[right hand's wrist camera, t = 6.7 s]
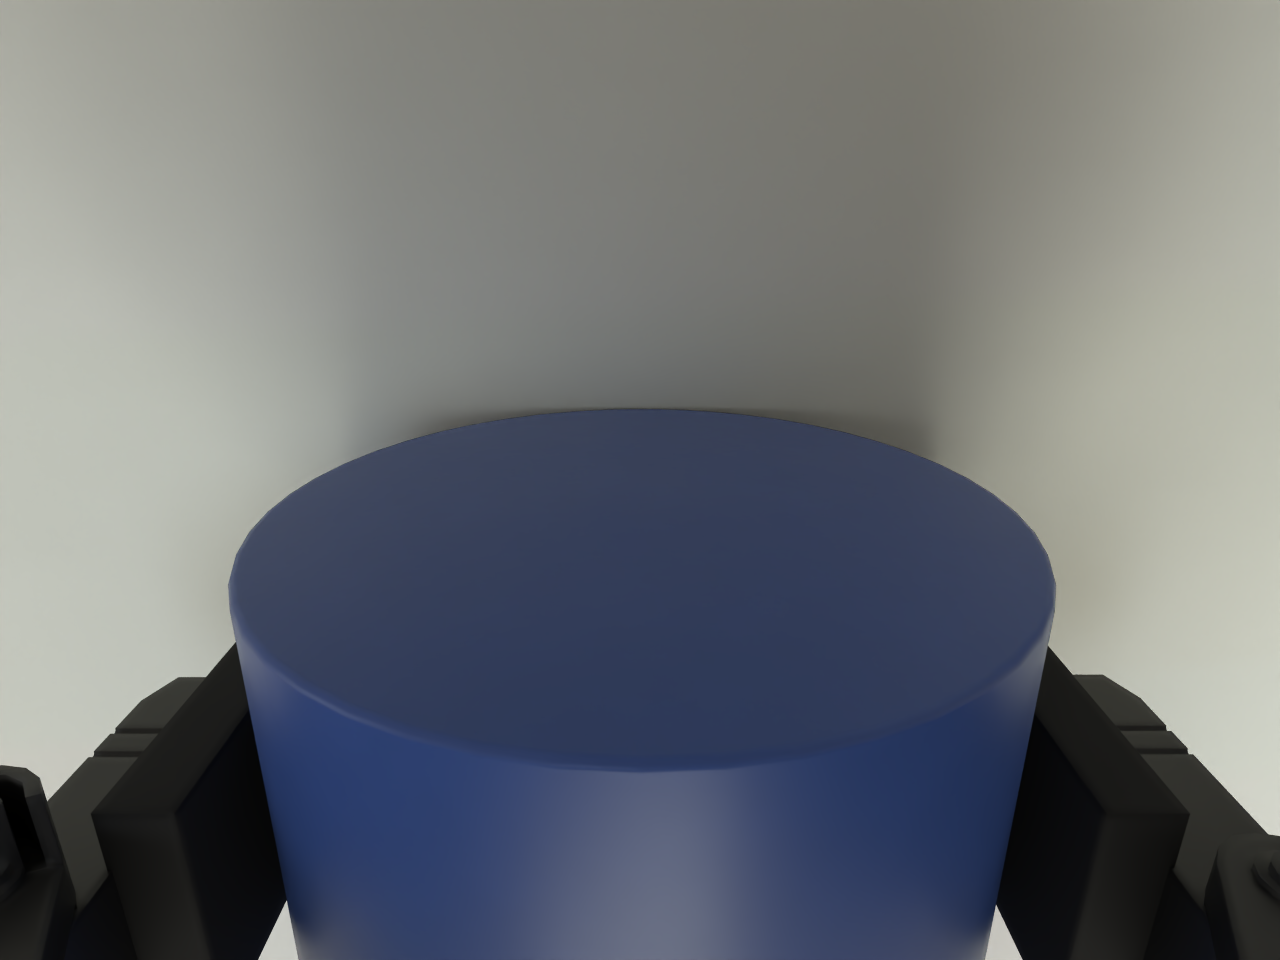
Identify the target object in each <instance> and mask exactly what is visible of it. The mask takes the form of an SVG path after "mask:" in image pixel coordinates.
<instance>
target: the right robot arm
mask: <svg viewBox="0 0 1280 960" xmlns="http://www.w3.org/2000/svg"><path fill="white" fill-rule="evenodd" d="M1187 750H1188V748H1187V747H1186V746H1185V745H1184V744H1183V743H1182V742H1181V741H1180V740H1179V739H1178V738H1177V737H1176V736H1175V735H1174V733H1173V732H1172V731H1167V730H1166V725H1165V724H1164V723H1163V722H1162V721H1161V720H1160V719H1159V718H1158V716H1157V715H1156V714H1155V713H1154V712H1153V711H1152V710H1151V709H1150V708H1149V707H1148V706H1147V705H1146V704H1145V703H1144V702H1143V700H1142V699H1141V698H1139V697H1138V696H1136V695H1134V694H1133V693H1131V692H1130V691H1128V690H1126V689H1125V688H1123V687H1122V686H1120V685H1118V684H1117V683H1115V682H1114V681H1112V680H1110V679H1109V678H1107V677H1106V676H1104V675H1072V674H1071V672H1070V671H1069V670H1068V669H1067V668H1066V666H1065V665H1064V664H1063V663H1062V662H1061V661H1060V659H1059V658H1058V657H1057V656H1056V655H1055V653H1054V652H1053V651H1052V650H1051V649H1050V648H1049V646H1048V647H1047V652H1046V657H1045V662H1044V667H1043V672H1042V677H1041V682H1040V687H1039V692H1038V697H1037V702H1036V707H1035V712H1034V717H1033V722H1032V727H1031V732H1030V737H1029V742H1028V747H1027V752H1026V757H1025V762H1024V767H1023V772H1022V777H1021V782H1020V787H1019V792H1018V797H1017V802H1016V807H1015V812H1014V817H1013V822H1012V827H1011V832H1010V837H1009V842H1008V847H1007V852H1006V857H1005V862H1004V867H1003V872H1002V877H1001V882H1000V887H999V892H998V897H997V901H996V905H997V907H998V909H999V911H1000V913H1001V916H1002V918H1003V920H1004V922H1005V924H1006V926H1007V928H1008V930H1009V932H1010V934H1011V936H1012V938H1013V940H1014V943H1015V945H1016V947H1017V949H1018V951H1019V953H1020V955H1021V957H1022V959H1023V960H1280V836H1275V835H1269V834H1267V833H1266V832H1265V830H1264V829H1263V828H1262V827H1261V826H1260V825H1259V824H1258V823H1257V822H1256V821H1255V820H1254V819H1253V818H1252V817H1251V816H1250V814H1249V813H1248V812H1247V811H1246V810H1245V809H1244V808H1243V807H1242V806H1241V805H1240V804H1239V803H1238V802H1237V801H1236V800H1235V798H1234V797H1233V796H1232V795H1231V794H1230V793H1229V792H1228V791H1227V790H1226V789H1225V788H1224V787H1223V786H1222V785H1221V784H1220V783H1219V781H1218V780H1217V779H1216V778H1215V777H1214V776H1213V775H1212V774H1211V773H1210V772H1209V771H1208V770H1207V769H1206V768H1205V767H1204V765H1203V764H1202V763H1201V762H1200V761H1199V760H1198V759H1197V758H1196V757H1195V756H1194V755H1193V754H1188V751H1187ZM286 900H287V898H286V893H285V888H284V883H283V878H282V872H281V867H280V862H279V857H278V852H277V847H276V842H275V837H274V832H273V827H272V822H271V817H270V812H269V807H268V801H267V796H266V791H265V786H264V781H263V776H262V771H261V766H260V761H259V756H258V751H257V746H256V741H255V735H254V730H253V725H252V720H251V715H250V710H249V705H248V700H247V695H246V690H245V685H244V680H243V675H242V670H241V664H240V659H239V654H238V649H237V644H236V643H235V644H234V645H233V646H232V647H231V648H230V650H229V651H228V652H227V653H226V654H225V656H224V657H223V658H222V659H221V660H220V661H219V663H218V664H217V665H216V666H215V667H214V669H213V670H212V671H211V672H210V673H209V674H208V676H207V677H178V678H177V679H175V680H174V681H172V682H170V683H169V684H167V685H166V686H164V687H162V688H161V689H159V690H158V691H156V692H154V693H153V694H151V695H150V696H148V697H146V698H145V699H143V700H142V701H141V702H140V703H139V704H138V705H137V706H136V707H135V708H134V709H133V710H132V711H131V712H130V713H129V714H128V715H127V717H126V718H125V719H124V720H123V721H122V722H121V723H120V724H119V725H118V726H117V727H116V731H115V734H110V735H109V736H108V737H107V738H106V739H105V740H104V741H103V742H102V743H101V744H100V746H99V747H98V748H97V749H96V750H95V751H94V756H93V757H88V758H87V759H86V761H85V762H84V763H83V764H82V765H81V766H80V767H79V768H78V769H77V770H76V771H75V772H74V773H73V774H72V776H71V777H70V778H69V779H68V780H67V781H66V782H65V783H64V784H63V785H62V786H61V787H60V788H59V790H58V791H57V792H56V793H55V794H54V795H53V796H52V797H51V798H50V799H49V800H48V801H47V800H46V796H45V793H44V790H43V787H42V784H41V781H40V778H39V777H38V776H36V775H35V774H34V773H32V772H31V771H29V770H28V769H27V768H21V767H13V766H4V765H0V960H258V959H259V956H260V954H261V952H262V950H263V948H264V946H265V944H266V942H267V940H268V938H269V936H270V934H271V932H272V929H273V927H274V925H275V923H276V921H277V919H278V917H279V915H280V913H281V911H282V909H283V907H284V904H285V902H286Z"/></svg>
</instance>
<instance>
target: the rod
mask: <svg viewBox="0 0 1280 960" xmlns="http://www.w3.org/2000/svg"><path fill="white" fill-rule="evenodd" d="M228 588H229V604H230V614H231V619H232V624H233V629H234V634H235V639H236V644H237V649H238V654H239V659H240V664H241V670H242V675H243V680H244V685H245V690H246V695H247V700H248V705H249V710H250V715H251V720H252V725H253V730H254V735H255V741H256V746H257V751H258V756H259V761H260V766H261V771H262V776H263V781H264V786H265V791H266V796H267V801H268V807H269V812H270V817H271V822H272V827H273V832H274V837H275V842H276V847H277V852H278V857H279V862H280V867H281V872H282V878H283V883H284V888H285V893H286V898H287V903H288V908H289V913H290V918H291V923H292V928H293V933H294V938H295V943H296V949H297V954H298V959H299V960H985V956H986V951H987V946H988V941H989V936H990V931H991V926H992V921H993V916H994V911H995V906H996V901H997V897H998V892H999V887H1000V882H1001V877H1002V872H1003V867H1004V862H1005V857H1006V852H1007V847H1008V842H1009V837H1010V832H1011V827H1012V822H1013V817H1014V812H1015V807H1016V802H1017V797H1018V792H1019V787H1020V782H1021V777H1022V772H1023V767H1024V762H1025V757H1026V752H1027V747H1028V742H1029V737H1030V732H1031V727H1032V722H1033V717H1034V712H1035V707H1036V702H1037V697H1038V692H1039V687H1040V682H1041V677H1042V672H1043V667H1044V662H1045V657H1046V652H1047V647H1048V642H1049V637H1050V632H1051V627H1052V622H1053V617H1054V612H1055V596H1056V583H1055V579H1054V576H1053V572H1052V568H1051V564H1050V561H1049V557H1048V554H1047V553H1046V551H1045V549H1044V548H1043V546H1042V544H1041V543H1040V541H1039V539H1038V537H1037V536H1036V534H1035V533H1034V531H1033V530H1032V529H1031V528H1030V527H1029V526H1028V525H1027V524H1026V523H1025V522H1024V520H1023V519H1022V518H1021V517H1020V516H1019V515H1018V514H1017V513H1016V512H1015V511H1014V510H1012V509H1011V508H1010V507H1009V506H1007V505H1006V504H1005V503H1004V502H1002V501H1001V500H1000V499H999V498H997V497H996V496H995V495H994V494H992V493H990V492H989V491H987V490H986V489H984V488H982V487H981V486H979V485H978V484H976V483H974V482H973V481H971V480H970V479H968V478H966V477H964V476H962V475H960V474H958V473H956V472H954V471H952V470H950V469H948V468H946V467H944V466H942V465H940V464H937V463H935V462H932V461H930V460H928V459H925V458H923V457H920V456H918V455H915V454H913V453H910V452H908V451H905V450H902V449H899V448H896V447H893V446H890V445H886V444H883V443H880V442H877V441H874V440H871V439H867V438H863V437H859V436H856V435H852V434H848V433H845V432H841V431H836V430H831V429H827V428H822V427H818V426H813V425H808V424H802V423H797V422H791V421H785V420H779V419H772V418H765V417H757V416H749V415H741V414H730V413H719V412H707V411H689V410H661V409H620V410H593V411H574V412H563V413H552V414H541V415H533V416H525V417H517V418H510V419H503V420H497V421H491V422H485V423H480V424H474V425H469V426H464V427H460V428H455V429H451V430H446V431H441V432H437V433H434V434H430V435H426V436H423V437H419V438H415V439H412V440H408V441H405V442H402V443H399V444H396V445H393V446H390V447H387V448H384V449H381V450H378V451H375V452H372V453H370V454H367V455H365V456H362V457H360V458H357V459H355V460H352V461H350V462H348V463H345V464H343V465H341V466H339V467H337V468H335V469H333V470H331V471H329V472H327V473H325V474H323V475H321V476H319V477H317V478H315V479H313V480H312V481H310V482H308V483H307V484H305V485H304V486H302V487H300V488H299V489H297V490H296V491H294V492H292V493H291V494H289V495H288V496H287V497H286V498H284V499H283V500H282V501H281V502H279V503H278V504H277V505H276V506H274V507H273V508H272V509H271V510H269V511H268V512H267V513H266V514H265V515H264V517H263V518H262V519H261V520H260V521H259V522H258V523H257V524H256V525H255V526H254V528H253V529H252V530H251V531H250V532H249V534H248V535H247V537H246V539H245V540H244V542H243V544H242V546H241V547H240V549H239V551H238V552H237V554H236V558H235V561H234V565H233V569H232V572H231V576H230V580H229V584H228Z"/></svg>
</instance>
